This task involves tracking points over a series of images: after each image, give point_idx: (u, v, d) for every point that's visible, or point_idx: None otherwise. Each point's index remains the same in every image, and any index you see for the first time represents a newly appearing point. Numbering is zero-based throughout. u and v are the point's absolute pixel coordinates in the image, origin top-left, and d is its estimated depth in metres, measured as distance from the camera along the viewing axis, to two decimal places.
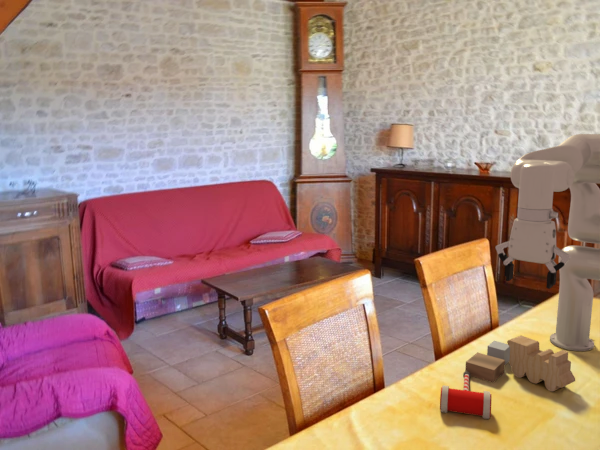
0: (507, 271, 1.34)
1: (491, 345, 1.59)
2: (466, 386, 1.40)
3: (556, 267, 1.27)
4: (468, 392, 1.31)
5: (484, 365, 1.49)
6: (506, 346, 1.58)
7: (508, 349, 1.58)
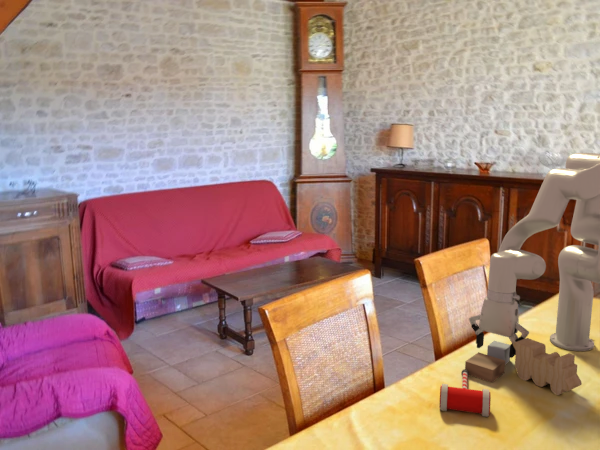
0: (478, 340, 1.60)
1: (491, 345, 1.59)
2: (465, 384, 1.41)
3: (517, 340, 1.53)
4: (467, 390, 1.32)
5: (484, 365, 1.49)
6: (506, 346, 1.58)
7: (508, 349, 1.58)
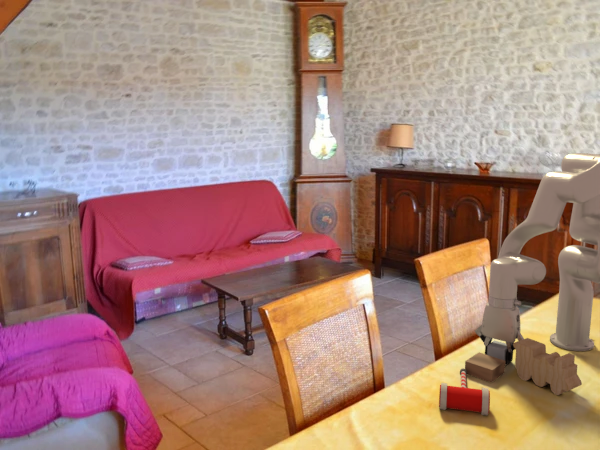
0: None
1: (491, 345, 1.59)
2: (464, 383, 1.42)
3: (513, 349, 1.55)
4: (467, 389, 1.33)
5: (484, 364, 1.49)
6: (506, 346, 1.58)
7: None
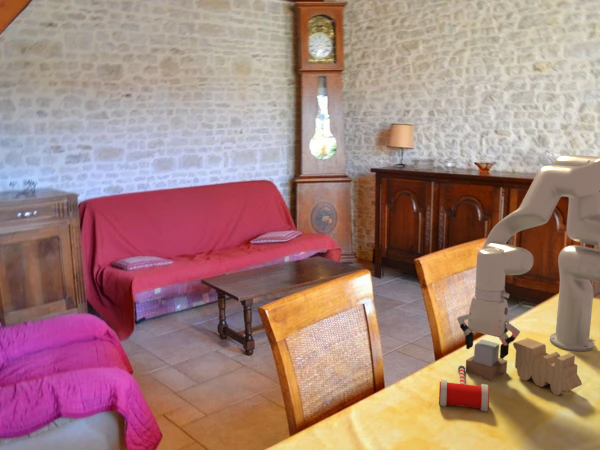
0: (467, 340, 1.53)
1: (478, 344, 1.51)
2: (463, 380, 1.43)
3: (508, 340, 1.46)
4: (466, 385, 1.34)
5: None
6: (494, 345, 1.50)
7: (496, 348, 1.50)
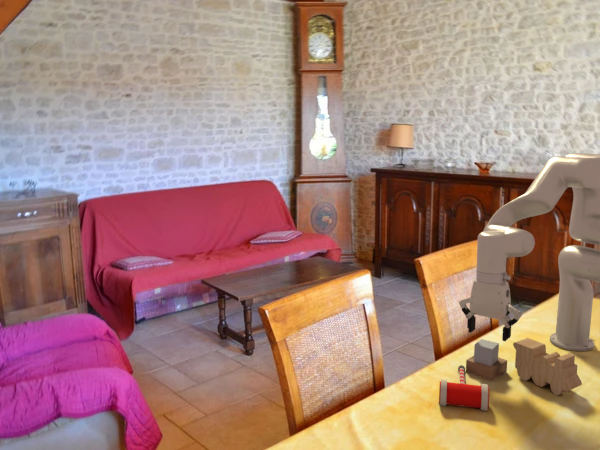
0: (469, 324, 1.52)
1: (478, 343, 1.51)
2: (462, 380, 1.44)
3: (510, 323, 1.45)
4: (466, 385, 1.34)
5: None
6: (494, 345, 1.50)
7: (496, 348, 1.50)
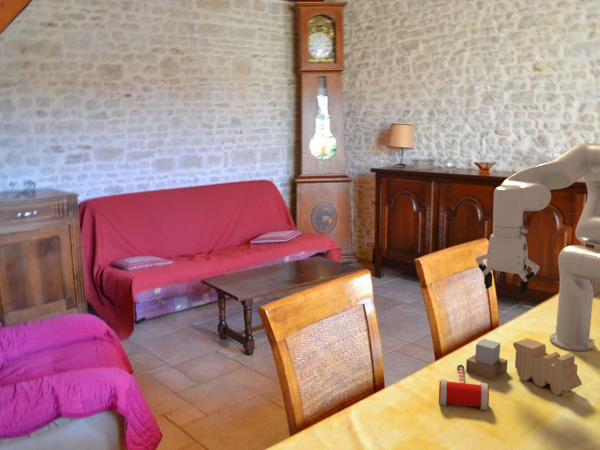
0: (486, 280, 1.53)
1: (480, 343, 1.51)
2: (462, 379, 1.44)
3: (527, 276, 1.46)
4: (466, 384, 1.35)
5: (484, 363, 1.50)
6: (495, 344, 1.51)
7: (497, 347, 1.50)
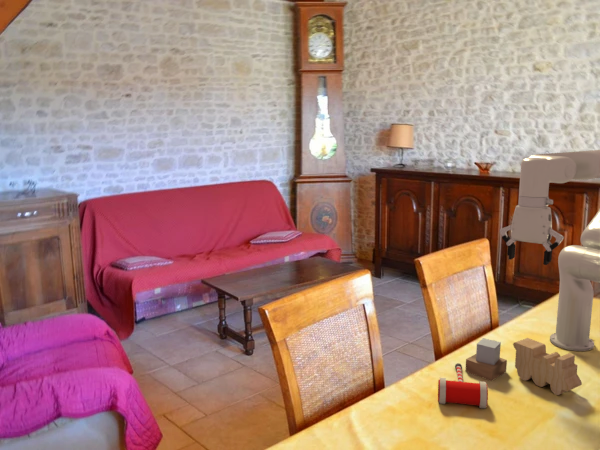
0: (509, 251, 1.56)
1: (480, 343, 1.52)
2: (460, 377, 1.45)
3: (551, 246, 1.49)
4: (465, 383, 1.36)
5: (484, 363, 1.50)
6: (496, 344, 1.51)
7: (498, 347, 1.51)
